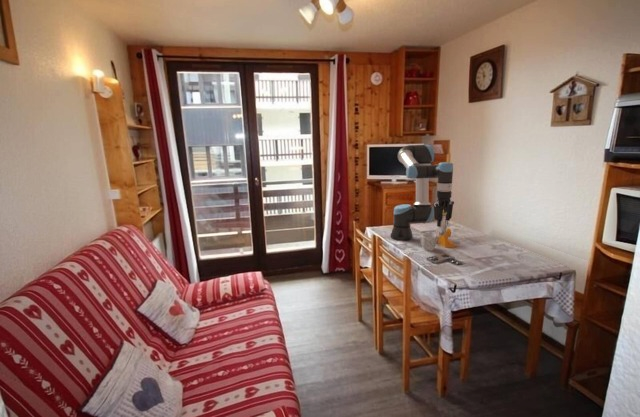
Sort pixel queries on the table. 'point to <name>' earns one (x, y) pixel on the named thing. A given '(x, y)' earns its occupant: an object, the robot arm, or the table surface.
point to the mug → (428, 241)
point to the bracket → (446, 239)
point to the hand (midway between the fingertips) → (442, 231)
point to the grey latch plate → (455, 262)
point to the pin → (443, 223)
